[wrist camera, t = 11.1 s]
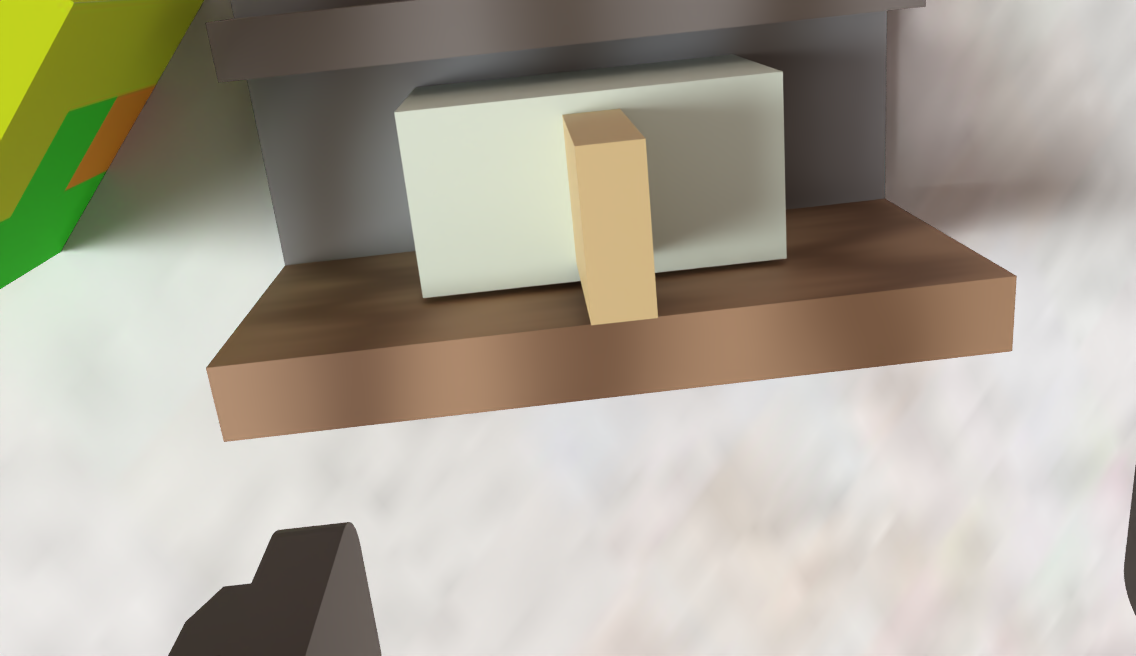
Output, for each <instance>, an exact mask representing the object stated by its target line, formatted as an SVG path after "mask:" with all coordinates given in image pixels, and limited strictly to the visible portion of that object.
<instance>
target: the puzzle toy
mask: <svg viewBox="0 0 1136 656" xmlns="http://www.w3.org/2000/svg"><path fill="white" fill-rule="evenodd" d="M203 1H204V0H0V289H1V288H3V287H5V286H6V285H8V284H9V283H11V282H13V281H14V280H16V279H17V278H19V277H21V276H22V275H24V274H26V273H27V272H29V271H30V270H32V269H34V268H35V267H37V266H39V265H40V264H42V263H43V262H45V261H47V260H48V259H50V258H52V257H53V256H55V255H56V254H58V253H60V252H61V250H62V248H63V247H64V245H65V243H66V241H67V240H68V238H69V236H70V234H71V233H72V231H73V229H74V227H75V226H76V224H77V222H78V220H79V219H80V217H81V215H82V213H83V212H84V210H85V208H86V206H87V205H88V203H89V201H90V199H91V198H92V196H93V194H94V192H95V191H96V189H97V187H98V185H99V184H100V182H101V180H102V178H103V177H104V175H105V173H106V171H107V170H108V168H109V166H110V164H111V163H112V161H113V159H114V157H115V156H116V154H117V152H118V150H119V149H120V147H121V145H122V143H123V142H124V140H125V138H126V136H127V135H128V133H129V131H130V129H131V128H132V126H133V124H134V122H135V121H136V119H137V117H138V115H139V114H140V112H141V110H142V108H143V107H144V105H145V103H146V101H147V100H148V98H149V96H150V94H151V93H152V91H153V89H154V87H155V86H156V84H157V82H158V80H159V79H160V77H161V75H162V73H163V72H164V70H165V68H166V66H167V65H168V63H169V61H170V59H171V58H172V56H173V54H174V52H175V51H176V49H177V47H178V45H179V44H180V42H181V40H182V38H183V37H184V35H185V33H186V31H187V29H188V28H189V26H190V24H191V22H192V21H193V19H194V17H195V15H196V14H197V12H198V10H199V8H200V7H201V5H202V3H203Z"/></svg>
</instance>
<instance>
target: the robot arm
mask: <svg viewBox="0 0 1136 656" xmlns="http://www.w3.org/2000/svg"><path fill="white" fill-rule="evenodd" d="M1124 579H1125V586H1126V590H1127V594H1128V598H1129V601H1130V604H1131V606H1132V608H1133V611H1134V613H1135V615H1136V467H1135V475H1134V484H1133V493H1132V502H1131V510H1130V519H1129V528H1128V536H1127V545H1126V554H1125V562H1124ZM168 656H381V650H380V644H379V639H378V634H377V628H376V623H375V618H374V613H373V608H372V603H371V598H370V592H369V587H368V582H367V577H366V572H365V567H364V562H363V556H362V551H361V546H360V542H359V538H358V534H357V532H356V529H355V527H354V525H353V524H352V523H350V522H347V523H338V524H329V525H320V526H311V527H302V528H293V529H284V530H277V531H275V533H274V534H273V535H272V537H271V539H270V542H269V544H268V546H267V549H266V551H265V553H264V555H263V558H262V560H261V562H260V565H259V567H258V569H257V572H256V574H255V576H254V579H253V581H252V583H251V584H243V585H234V586H225V587H223V588H222V589H221V590H219V591H218V592H217V593H216V594H215V595H214V596H213V597H212V598H211V599H210V600H209V601H208V602H207V603H205V604H204V605H203V606H202V607H201V608H200V609H199V610H198V611H197V612H196V613H195V614H194V615H193V616H191V617H190V618H189V619H188V620H187V621H186V622H185V624H184V626H183V628H182V630H181V632H180V634H179V636H178V638H177V640H176V642H175V644H174V645H173V647H172V649H171V651H170V653H169V655H168Z"/></svg>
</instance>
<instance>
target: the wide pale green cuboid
mask: <svg viewBox="0 0 1136 656" xmlns="http://www.w3.org/2000/svg"><path fill="white" fill-rule="evenodd" d="M394 114H395V121H396V127H397V133H398V140H399V146H400V153H401V159H402V166H403V172H404V179H405V185H406V192H407V198H408V205H409V211H410V218H411V224H412V230H413V237H414V243H415V250H416V256H417V263H418V269H419V276H420V282H421V289H422V295H423V298H429V297H438V296H448V295H457V294H466V293H475V292H484V291H493V290H502V289H512V288H521V287H530V286H539V285H548V284H557V283H567V282H576V281H581V284H582V289H583V293H584V297H585V301H586V305H587V309H588V314H589V318H590V322H591V325H598V324H608V323H617V322H626V321H635V320H644V319H653V318H658V311H657V297H656V282H655V273H658V272H667V271H676V270H685V269H695V268H704V267H713V266H722V265H731V264H740V263H749V262H759V261H768V260H777V259H786V258H787V251H786V202H785V153H784V105H783V71H780V70H777V69H774V68H771V67H768V66H765V65H762V64H759V63H756V62H753V61H751V60H748V59H745V58H742V57H739V56H736V55H733V54H730V55H721V56H711V57H702V58H692V59H683V60H673V61H664V62H654V63H644V64H635V65H625V66H616V67H606V68H597V69H587V70H578V71H568V72H558V73H549V74H539V75H530V76H520V77H511V78H501V79H492V80H482V81H472V82H463V83H453V84H444V85H434V86H425V87H415V88H414V90H413V91H412V92H411V93H410V94H409V96H408V97H407V98H406V99H405V100H404V101H403V103H402V104H401V105H400V106H399V107H398V109H397V110H396V111H395V112H394Z"/></svg>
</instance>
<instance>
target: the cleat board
mask: <svg viewBox="0 0 1136 656" xmlns="http://www.w3.org/2000/svg"><path fill="white" fill-rule="evenodd" d="M231 5H232V10H233V15H234V19H228V20H221V21H214V22H208V23H206V28H207V32H208V37H209V42H210V46H211V51H212V56H213V60H214V65H215V69H216V74H217V79H218V83H219V82H228V81H238V80H247V83H248V87H249V92H250V97H251V102H252V107H253V112H254V116H255V121H256V126H257V131H258V136H259V141H260V145H261V150H262V155H263V160H264V165H265V170H266V174H267V179H268V184H269V189H270V194H271V199H272V204H273V208H274V213H275V218H276V223H277V228H278V233H279V237H280V242H281V247H282V252H283V257H284V262H285V267H284V268H283V269H282V270H281V272H280V273H279V274H278V276H277V277H276V278H275V279H274V281H273V282H272V283H271V285H270V286H269V287H268V289H267V290H266V291H265V292H264V294H263V295H262V296H261V298H260V299H259V300H258V301H257V303H256V304H255V305H254V307H253V308H252V309H251V311H250V312H249V313H248V314H247V316H246V317H245V318H244V320H243V321H242V322H241V323H240V325H239V326H238V327H237V329H236V330H235V331H234V333H233V334H232V335H231V336H230V338H229V339H228V340H227V342H226V343H225V344H224V345H223V347H222V348H221V349H220V351H219V352H218V353H217V355H216V356H215V357H214V358H213V360H212V361H211V362H210V364H209V365H208V366H207V367H206V370H207V374H208V378H209V382H210V386H211V390H212V395H213V399H214V403H215V407H216V411H217V415H218V419H219V423H220V427H221V431H222V435H223V440H224V442H227V441H235V440H244V439H253V438H261V437H270V436H279V435H288V434H296V433H305V432H314V431H322V430H331V429H340V428H348V427H357V426H366V425H374V424H383V423H392V422H401V421H409V420H418V419H427V418H435V417H444V416H453V415H461V414H470V413H479V412H487V411H496V410H505V409H514V408H522V407H531V406H540V405H548V404H557V403H566V402H574V401H583V400H592V399H600V398H609V397H618V396H627V395H635V394H644V393H653V392H661V391H670V390H679V389H687V388H696V387H705V386H713V385H722V384H731V383H739V382H748V381H757V380H766V379H774V378H783V377H792V376H800V375H809V374H818V373H826V372H835V371H844V370H852V369H861V368H870V367H879V366H887V365H896V364H905V363H913V362H922V361H931V360H939V359H948V358H957V357H965V356H974V355H983V354H992V353H1000V352H1009V351H1012V344H1013V327H1014V310H1015V294H1016V277H1017V276H1016V275H1014V274H1012V273H1010V272H1009V271H1007V270H1005V269H1004V268H1002V267H1000V266H999V265H997V264H995V263H993V262H992V261H990V260H988V259H987V258H985V257H983V256H982V255H980V254H978V253H976V252H975V251H973V250H971V249H970V248H968V247H966V246H964V245H963V244H961V243H959V242H958V241H956V240H954V239H953V238H951V237H949V236H947V235H946V234H944V233H942V232H941V231H939V230H937V229H936V228H934V227H932V226H930V225H929V224H927V223H925V222H924V221H922V220H920V219H919V218H917V217H915V216H913V215H912V214H910V213H908V212H907V211H905V210H903V209H902V208H900V207H898V206H896V205H895V204H893V203H891V202H890V201H888V200H886V199H885V135H886V47H887V11H888V10H898V9H907V8H916V7H926V0H231ZM730 54H733V55H736V56H739V57H742V58H745V59H748V60H751V61H753V62H756V63H759V64H762V65H765V66H768V67H771V68H774V69H777V70H780V71H783V105H784V153H785V202H786V251H787V258H786V259H777V260H768V261H759V262H749V263H740V264H731V265H722V266H713V267H704V268H695V269H685V270H676V271H667V272H658V273H655V282H656V297H657V311H658V318H653V319H644V320H635V321H626V322H617V323H608V324H598V325H591V322H590V318H589V314H588V309H587V305H586V301H585V297H584V293H583V289H582V284H581V281H576V282H567V283H557V284H548V285H539V286H530V287H521V288H512V289H502V290H493V291H484V292H475V293H466V294H457V295H448V296H438V297H429V298H423V295H422V289H421V282H420V276H419V269H418V263H417V256H416V250H415V243H414V237H413V230H412V224H411V218H410V211H409V205H408V198H407V192H406V185H405V179H404V172H403V166H402V159H401V153H400V146H399V140H398V133H397V127H396V121H395V114H394V112H395V111H396V110H397V109H398V107H399V106H400V105H401V104H402V103H403V101H404V100H405V99H406V98H407V97H408V96H409V94H410V93H411V92H412V91H413V90H414V88H415V87H425V86H434V85H444V84H453V83H463V82H472V81H482V80H492V79H501V78H511V77H520V76H530V75H539V74H549V73H558V72H568V71H578V70H587V69H597V68H606V67H616V66H625V65H635V64H644V63H654V62H664V61H673V60H683V59H692V58H702V57H711V56H721V55H730Z"/></svg>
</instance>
